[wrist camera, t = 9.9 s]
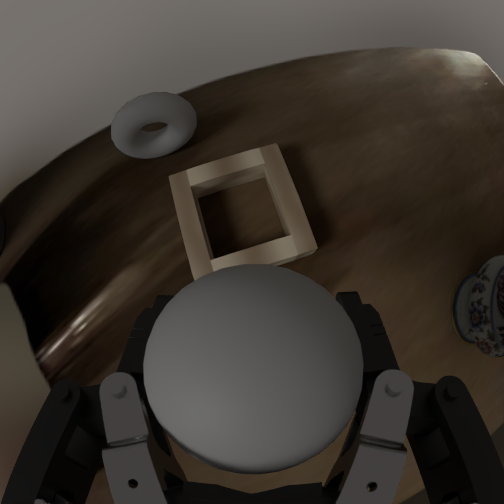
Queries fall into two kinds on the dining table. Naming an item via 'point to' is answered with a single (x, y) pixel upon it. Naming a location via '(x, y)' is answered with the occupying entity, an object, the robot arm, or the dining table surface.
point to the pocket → (229, 175)
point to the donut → (149, 111)
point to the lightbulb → (253, 369)
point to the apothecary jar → (481, 308)
